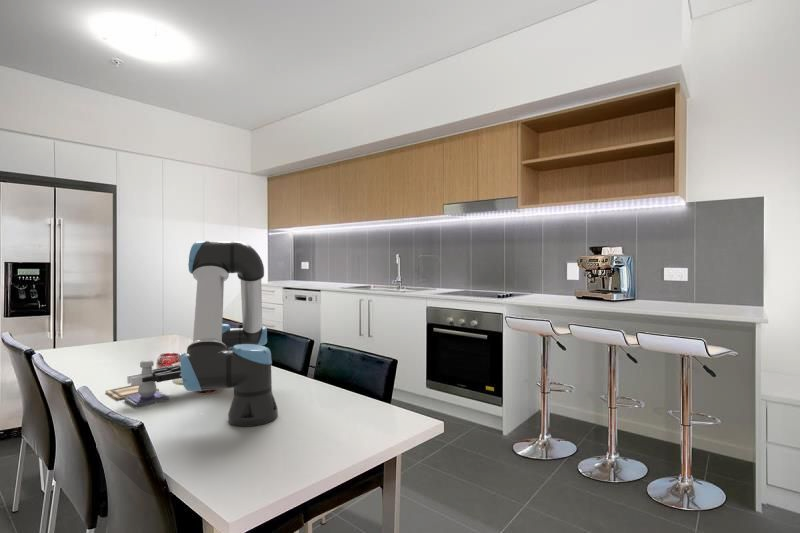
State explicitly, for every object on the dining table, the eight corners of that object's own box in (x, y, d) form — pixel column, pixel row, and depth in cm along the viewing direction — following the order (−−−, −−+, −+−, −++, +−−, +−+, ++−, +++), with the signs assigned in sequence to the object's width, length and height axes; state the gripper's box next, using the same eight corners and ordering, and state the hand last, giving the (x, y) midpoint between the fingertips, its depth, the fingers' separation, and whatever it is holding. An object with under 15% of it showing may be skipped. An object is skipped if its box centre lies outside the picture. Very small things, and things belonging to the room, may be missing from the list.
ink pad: (169, 399, 160) (169, 395, 160) (135, 407, 152) (135, 403, 152) (157, 393, 168) (157, 389, 168) (124, 401, 159) (124, 396, 159)
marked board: (159, 391, 170) (159, 388, 170) (117, 400, 160) (117, 397, 160) (145, 384, 180) (145, 381, 180) (105, 392, 169) (105, 390, 169)
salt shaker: (149, 398, 157) (148, 362, 157) (134, 398, 157) (133, 362, 157) (160, 393, 163) (159, 358, 162) (145, 393, 163) (144, 358, 163)
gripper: (206, 380, 168) (137, 396, 151) (188, 373, 179) (122, 386, 161) (205, 361, 168) (137, 374, 150) (187, 355, 178) (121, 366, 161)
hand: (129, 380), depth 156 cm, fingers closed on salt shaker, 3 cm apart
